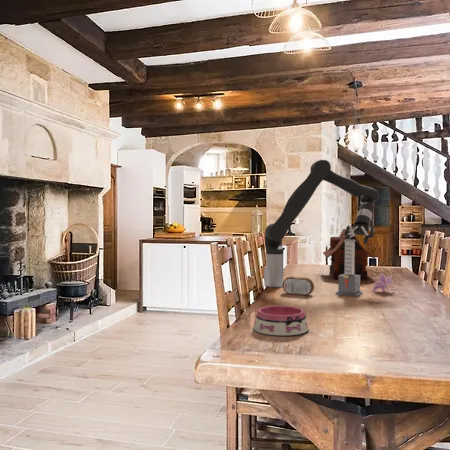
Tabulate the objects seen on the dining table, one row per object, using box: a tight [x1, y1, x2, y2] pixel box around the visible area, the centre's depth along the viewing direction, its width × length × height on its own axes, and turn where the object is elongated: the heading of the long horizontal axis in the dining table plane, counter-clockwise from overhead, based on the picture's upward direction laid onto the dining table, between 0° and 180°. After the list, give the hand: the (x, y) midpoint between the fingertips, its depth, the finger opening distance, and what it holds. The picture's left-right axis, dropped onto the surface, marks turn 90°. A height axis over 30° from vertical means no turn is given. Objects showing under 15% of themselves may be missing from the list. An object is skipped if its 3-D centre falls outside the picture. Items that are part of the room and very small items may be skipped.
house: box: [322, 228, 376, 281], centre depth 281 cm, size 35×28×29 cm
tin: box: [282, 276, 315, 296], centre depth 219 cm, size 15×3×8 cm, turn 65°
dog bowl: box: [252, 305, 310, 338], centre depth 153 cm, size 18×19×7 cm
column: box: [344, 239, 356, 276], centre depth 221 cm, size 4×4×25 cm
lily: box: [371, 273, 395, 294], centre depth 226 cm, size 12×12×10 cm
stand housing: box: [335, 274, 364, 297], centre depth 221 cm, size 10×10×9 cm
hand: (356, 242), depth 229 cm, fingers open, 8 cm apart
